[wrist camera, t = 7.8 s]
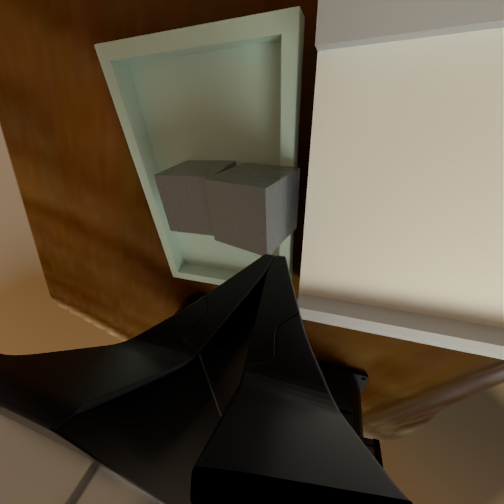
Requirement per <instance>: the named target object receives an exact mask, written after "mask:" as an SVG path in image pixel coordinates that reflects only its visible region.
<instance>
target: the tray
mask: <svg viewBox="0 0 504 504" xmlns="http://www.w3.org/2000/svg"><path fill="white" fill-rule="evenodd" d="M304 26H305V17H304V15H303V12H302V10H301V8H300V6H297V7H292V8H286V9H281V10H276V11H270V12H265V13H260V14H254V15H249V16H244V17H238V18H233V19H227V20H222V21H217V22H211V23H206V24H201V25H195V26H190V27H185V28H179V29H174V30H169V31H163V32H158V33H152V34H147V35H142V36H136V37H131V38H126V39H120V40H115V41H110V42H104V43H99V44H94V47H95V50H96V53H97V55H98V58H99V61H100V64H101V67H102V70H103V73H104V76H105V79H106V82H107V85H108V88H109V91H110V94H111V96H112V99H113V102H114V105H115V108H116V111H117V114H118V117H119V120H120V123H121V126H122V129H123V132H124V134H125V137H126V140H127V143H128V146H129V149H130V152H131V155H132V158H133V161H134V164H135V167H136V170H137V173H138V175H139V178H140V181H141V184H142V187H143V190H144V193H145V196H146V199H147V202H148V205H149V208H150V211H151V214H152V216H153V219H154V222H155V225H156V228H157V231H158V234H159V237H160V240H161V243H162V246H163V249H164V252H165V255H166V257H167V260H168V263H169V266H170V269H171V272H172V275H173V277H176V278H182V279H187V280H193V281H199V282H204V283H210V284H216V285H221V284H222V283H224V282H225V281H226V280H228V279H229V278H231V277H232V276H234V275H235V274H237V273H238V272H240V271H241V270H243V269H244V268H245V267H247V266H248V265H250V264H251V263H253V262H254V261H256V260H257V259H259V258H260V257H261V255H258V254H255V253H252V252H249V251H246V250H243V249H240V248H237V247H234V246H231V245H228V244H225V243H222V242H219V241H216V240H215V238H214V236H211V235H202V234H193V233H185V232H176V231H170V228H169V224H168V221H167V218H166V214H165V211H164V208H163V204H162V201H161V198H160V194H159V191H158V188H157V184H156V181H155V178H154V175H155V174H157V173H159V172H161V171H164V170H166V169H168V168H170V167H173V166H175V165H177V164H179V163H182V162H184V161H186V160H227V161H236V166H238V165H240V164H243V163H255V164H266V165H277V166H287V167H297V165H298V145H299V125H300V105H301V86H302V66H303V46H304ZM293 244H294V231H293V232H292V233H291V234H290V235H289V236H288V237H287V238H286V239H285V240H284V241H283V242H282V243H281V244H280V245H279V246H278V247H277V248H276V249H275V250H274V251H273V252H272V253H271V254H270V255H275V256H276V255H278V256H285V257H286V260H287V264H288V267H289V271H290V275H291V279H292V264H293Z"/></svg>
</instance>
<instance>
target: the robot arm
mask: <svg viewBox="0 0 504 504" xmlns="http://www.w3.org/2000/svg"><path fill="white" fill-rule="evenodd" d="M240 379H241V380H240ZM239 382H240V383H239ZM367 382H368V375H367V374H366V373H363V372H359V371H355V370H351V369H347V368H343V367H339V366H335V365H331V364H327V363H323V362H319V361H317V360H316V358H315V356H314V353H313V351H312V349H311V346H310V343H309V341H308V338H307V335H306V332H305V329H304V325H303V322H302V318H301V315H300V311H299V307H298V303H297V299H296V295H295V291H294V287H293V283H292V279H291V275H290V271H289V267H288V264H287V260H286V257H285V256H278V255H276V256H275V255H270V254H264V255H263V256H261V257H260V258H259V259H257V260H256V261H254V262H253V263H251V264H250V265H248V266H247V267H245V268H244V269H243V270H241V271H240V272H238V273H237V274H235V275H234V276H232V277H231V278H229V279H228V280H226V281H225V282H224V283H222V284H221V285H219V286H218V287H216V288H215V289H213V290H212V291H210V292H209V293H208V294H206V296H203V297H202V298H200V299H199V300H197V301H196V302H194V303H193V304H191V305H190V306H188V307H186V308H185V309H183V310H182V311H180V312H178V313H176V314H175V315H173V316H171V317H170V318H168V319H166V320H164V321H163V322H161V323H159V324H157V325H155V326H154V327H152V328H150V329H148V330H147V331H145V332H143V333H141V334H139V335H138V336H136V337H134V338H132V339H129V340H127V341H125V342H122V343H118V344H114V345H108V346H99V347H91V348H83V349H74V350H66V351H57V352H49V353H41V354H31V355H4V354H0V504H412V502H411V501H410V500H409V499H407V497H405V495H404V494H403V493H402V492H401V491H400V490H399V488H398V487H397V486H396V485H395V484H394V482H393V481H392V480H391V478H390V477H389V476H388V474H387V473H386V472H385V470H384V469H383V464H382V457H381V449H380V442H379V440H377V439H373V440H372V439H368V438H364V435H363V422H362V409H361V395H362V393H363V390H364V388H365V386H366V384H367ZM238 384H239V385H238Z"/></svg>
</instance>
